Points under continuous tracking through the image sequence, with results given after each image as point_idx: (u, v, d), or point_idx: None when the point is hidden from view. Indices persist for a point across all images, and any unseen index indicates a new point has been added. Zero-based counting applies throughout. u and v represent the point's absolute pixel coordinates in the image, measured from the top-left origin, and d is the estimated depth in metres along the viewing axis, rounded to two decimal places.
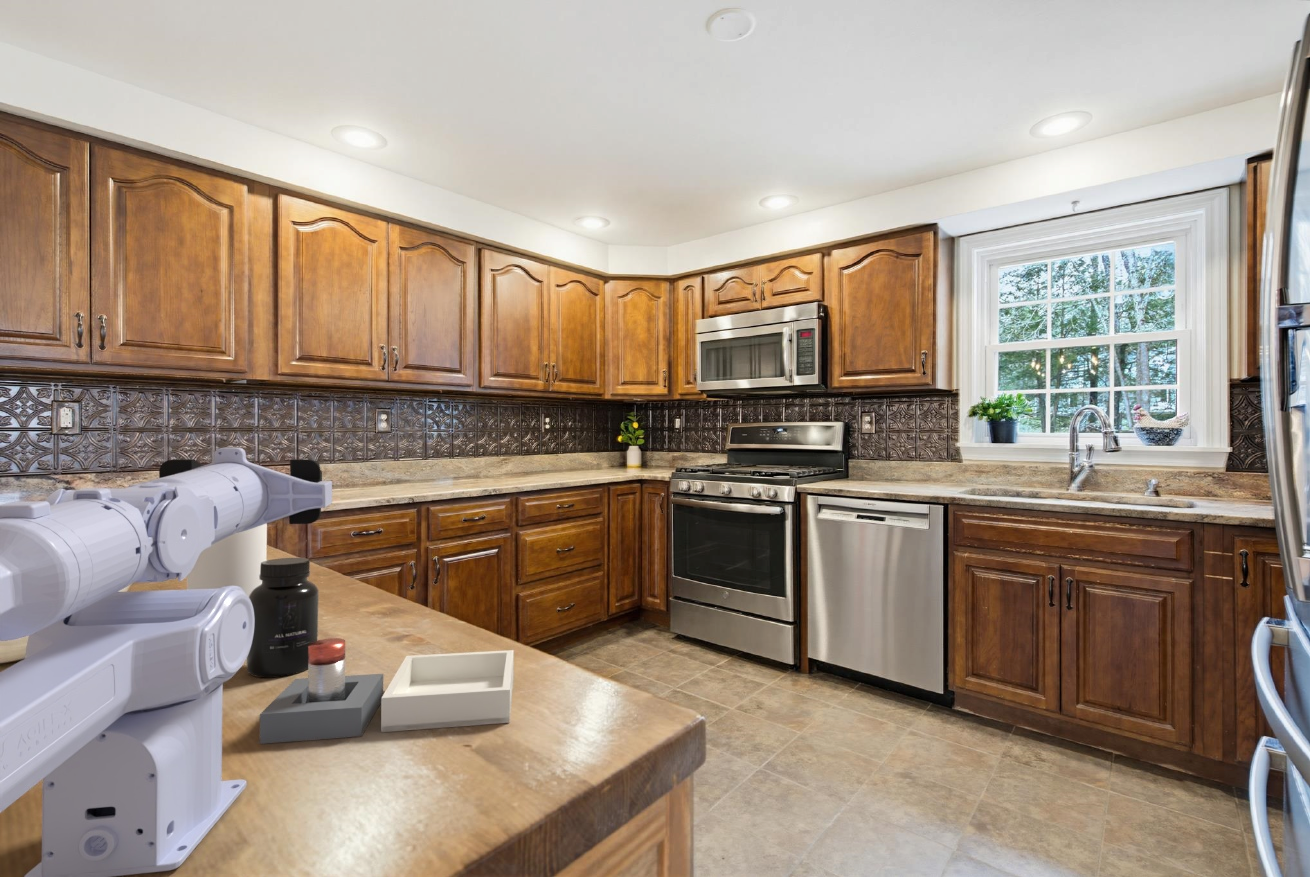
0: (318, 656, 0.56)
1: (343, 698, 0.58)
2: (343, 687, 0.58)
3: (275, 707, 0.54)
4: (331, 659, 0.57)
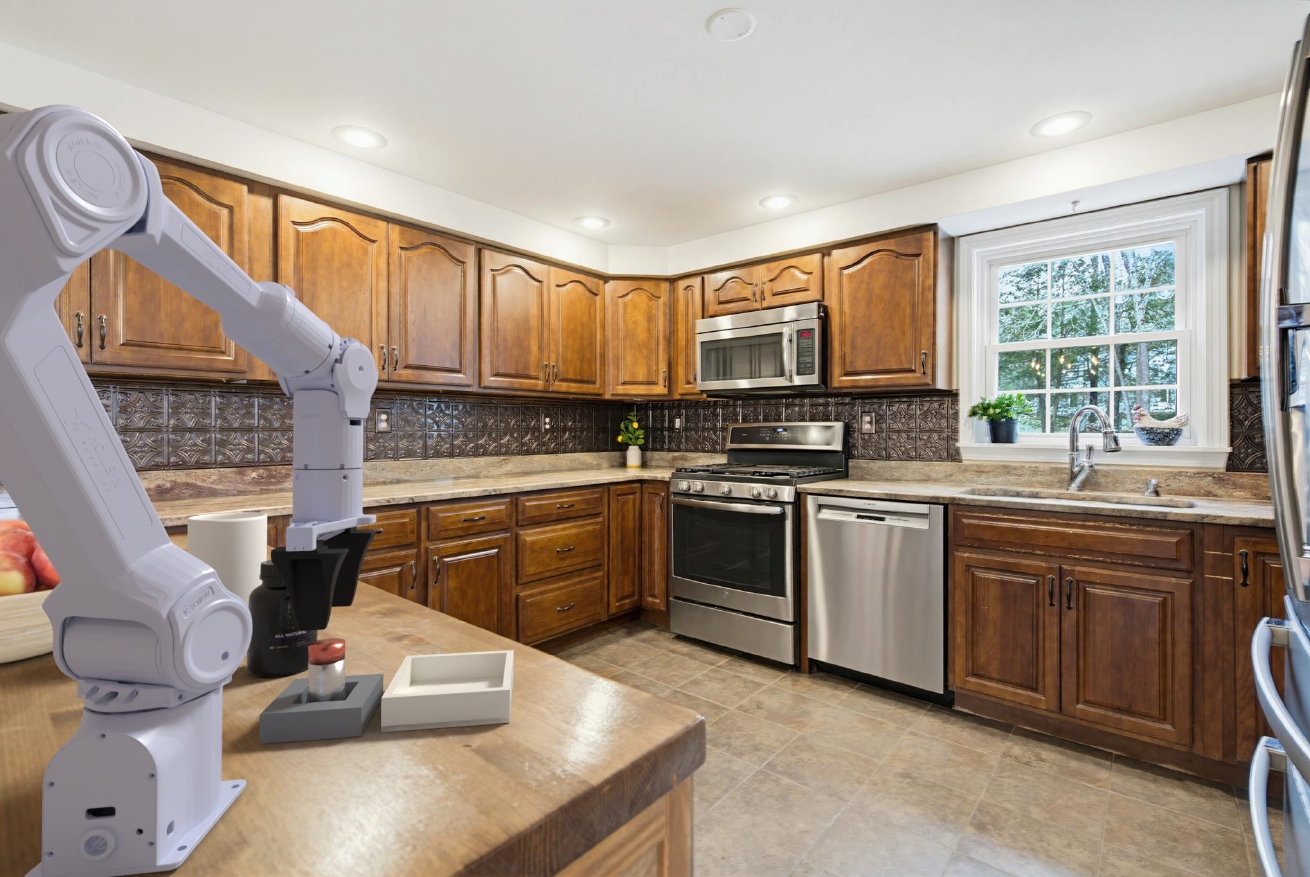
0: (318, 656, 0.56)
1: (343, 698, 0.58)
2: (343, 687, 0.58)
3: (275, 707, 0.54)
4: (331, 659, 0.57)
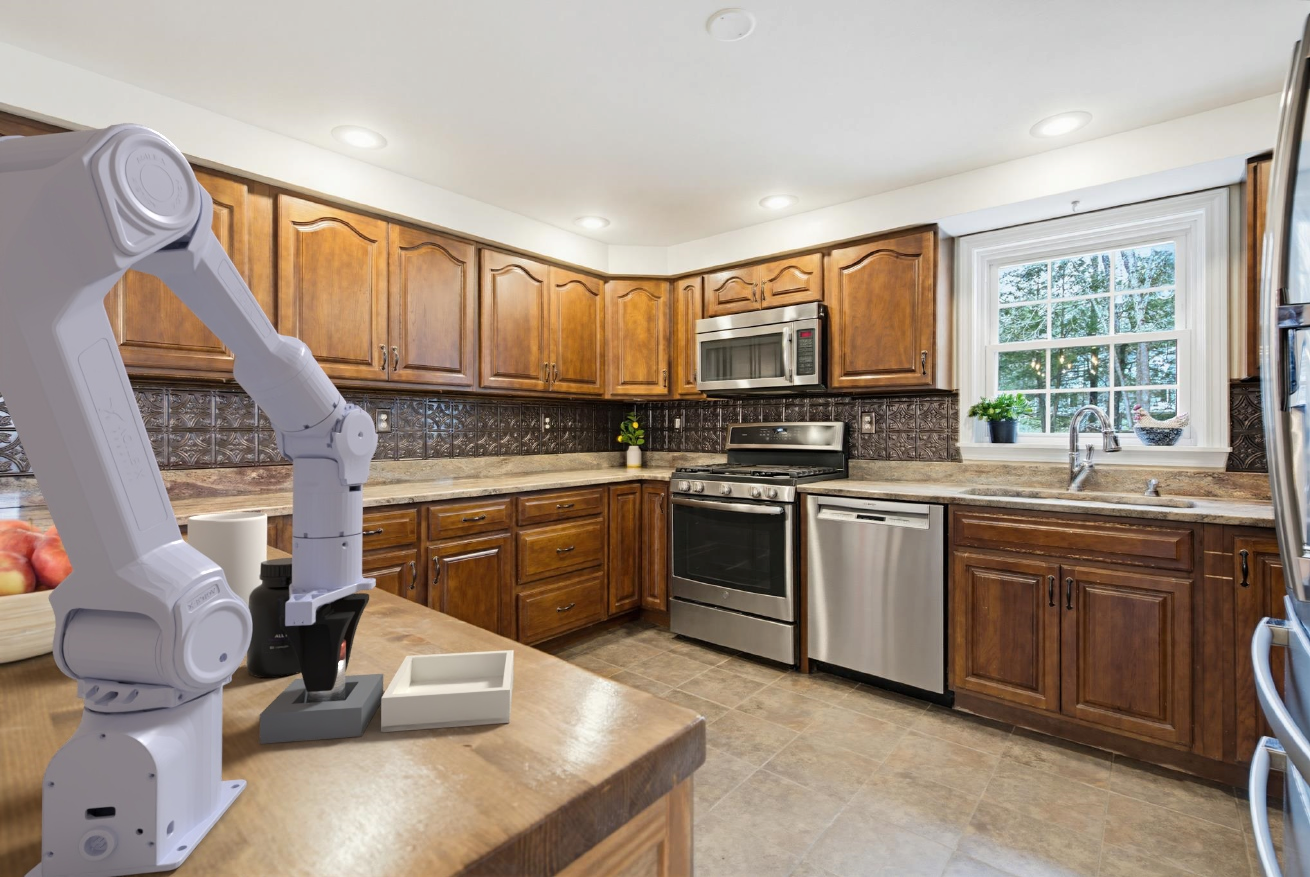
0: None
1: (343, 698, 0.58)
2: (343, 687, 0.58)
3: (275, 707, 0.54)
4: None
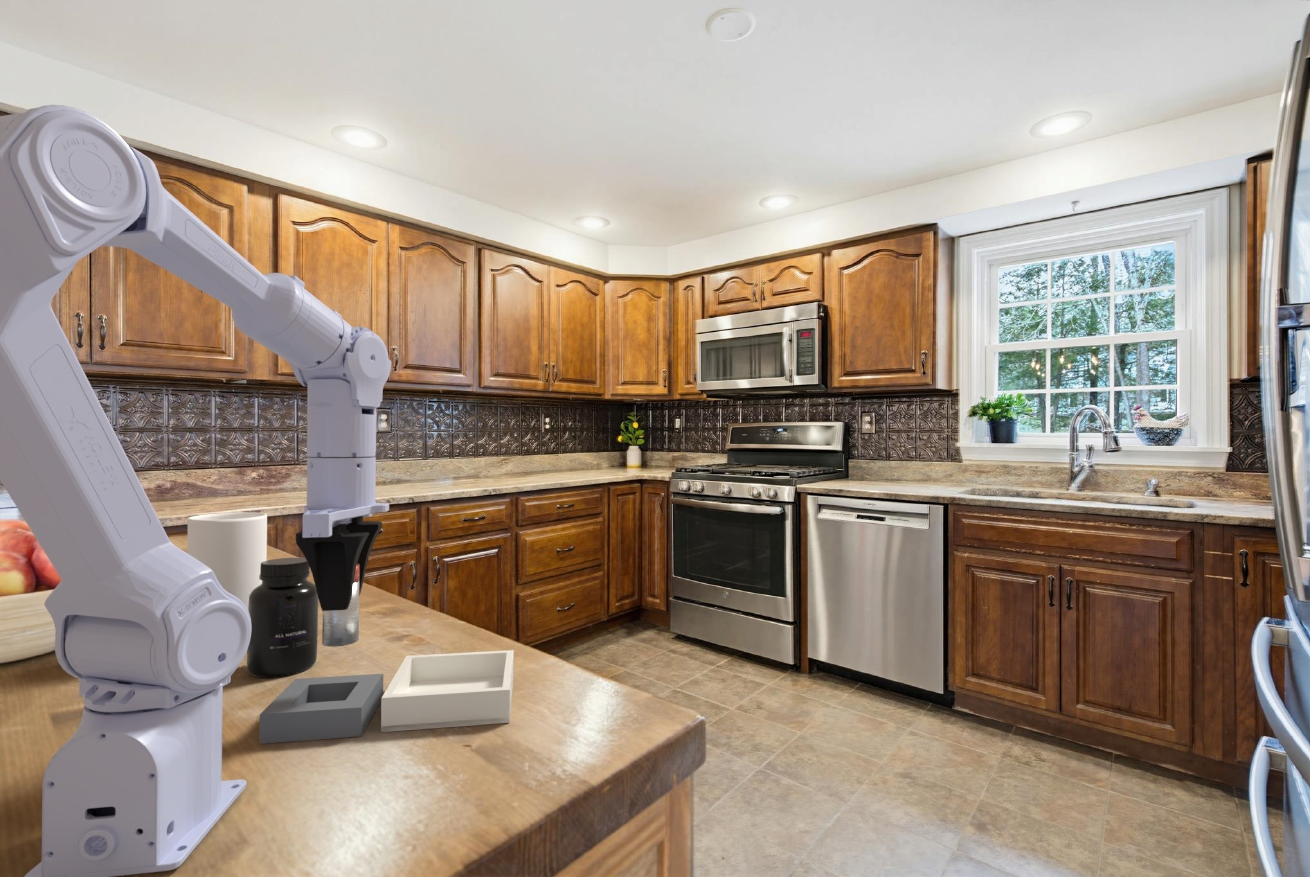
0: None
1: (357, 620, 0.58)
2: (357, 609, 0.58)
3: (275, 707, 0.54)
4: None
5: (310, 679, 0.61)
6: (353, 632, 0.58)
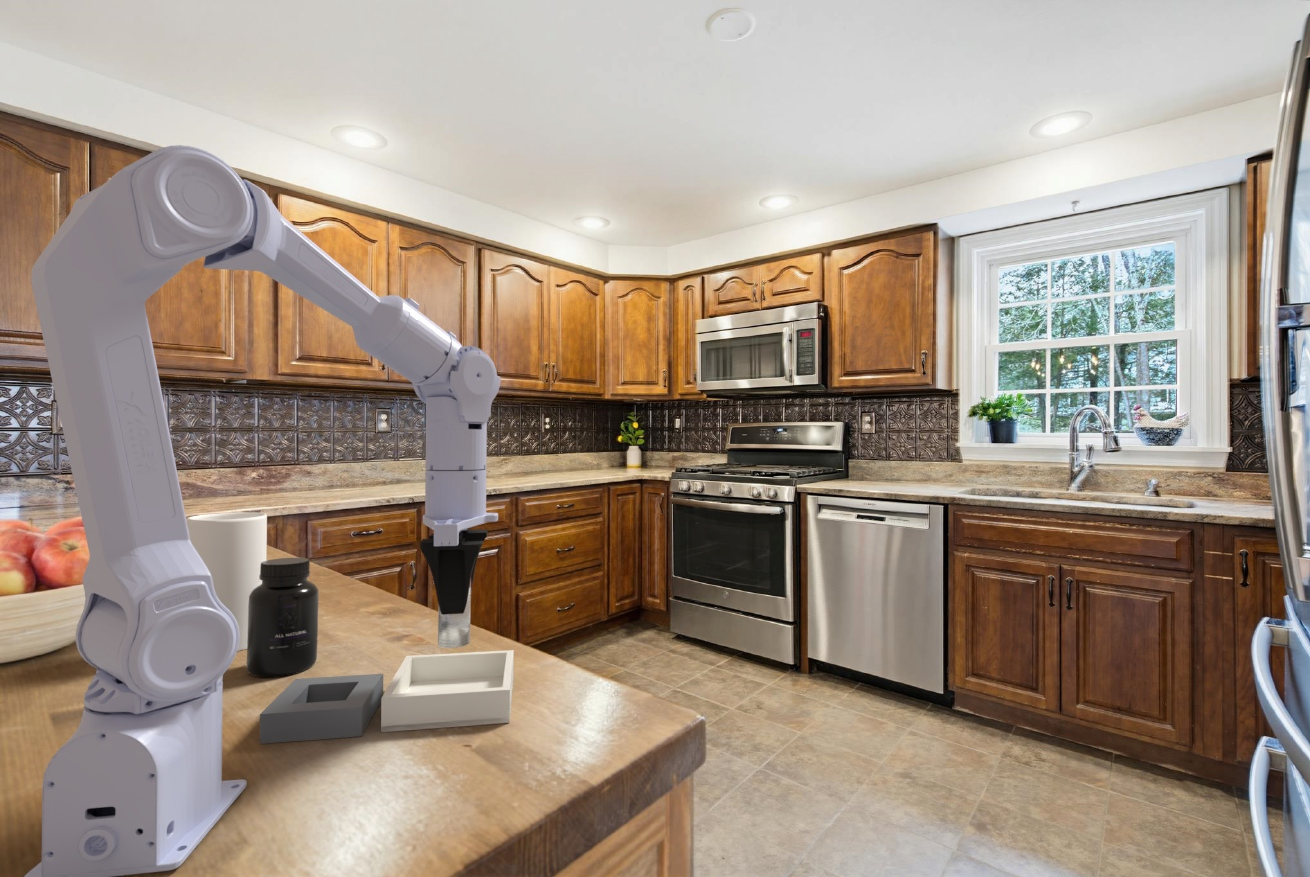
0: None
1: (469, 623, 0.62)
2: None
3: (275, 707, 0.54)
4: None
5: (310, 679, 0.61)
6: (467, 634, 0.61)
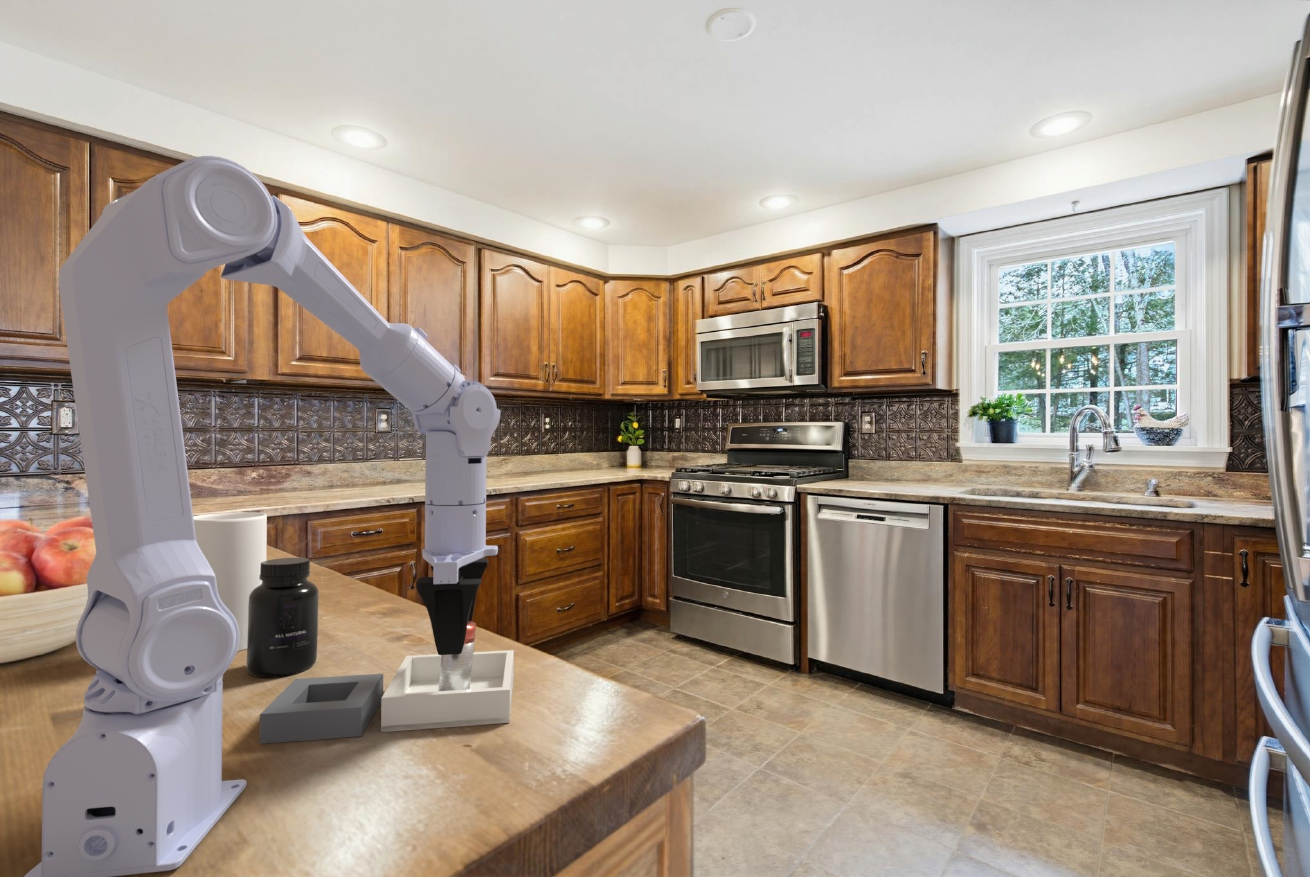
0: None
1: (470, 677, 0.62)
2: (471, 666, 0.62)
3: (275, 707, 0.54)
4: (466, 639, 0.61)
5: (310, 679, 0.61)
6: (467, 688, 0.61)
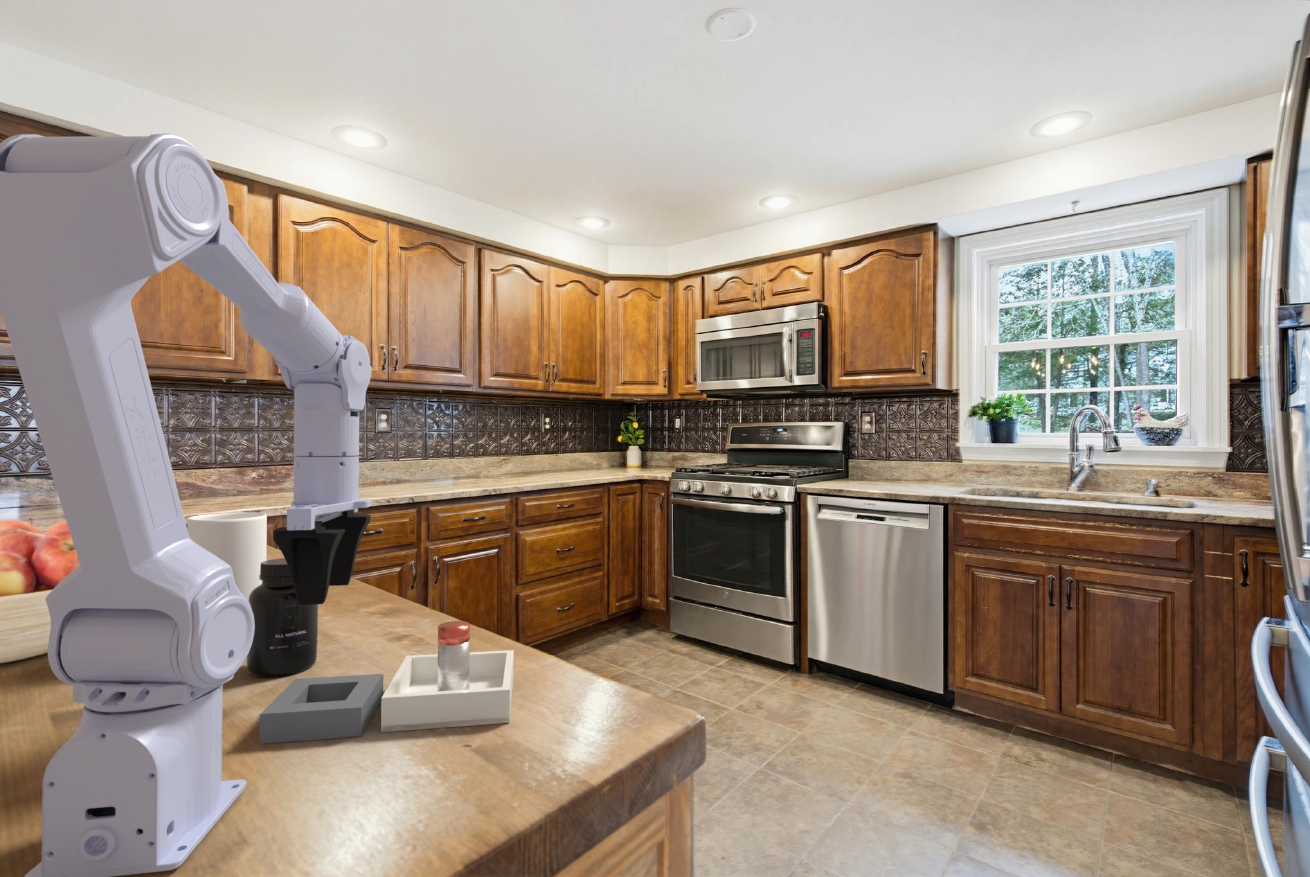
0: (449, 636, 0.60)
1: (469, 676, 0.62)
2: (469, 666, 0.62)
3: (275, 707, 0.54)
4: (460, 639, 0.61)
5: (310, 679, 0.61)
6: (466, 688, 0.61)
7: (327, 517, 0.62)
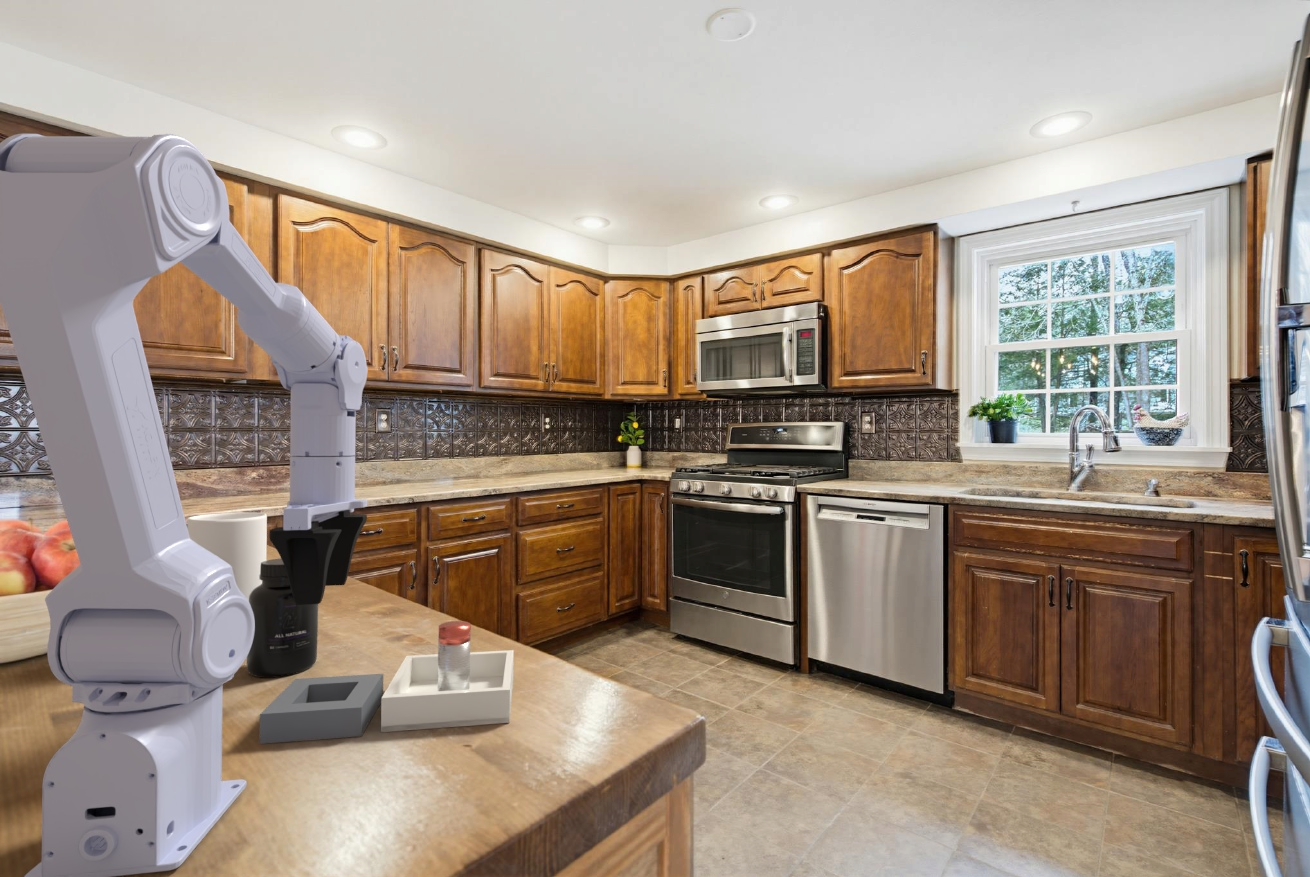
0: (450, 636, 0.60)
1: (469, 677, 0.62)
2: (469, 666, 0.62)
3: (275, 707, 0.54)
4: (461, 640, 0.61)
5: (310, 679, 0.61)
6: (466, 688, 0.61)
7: (323, 517, 0.62)
